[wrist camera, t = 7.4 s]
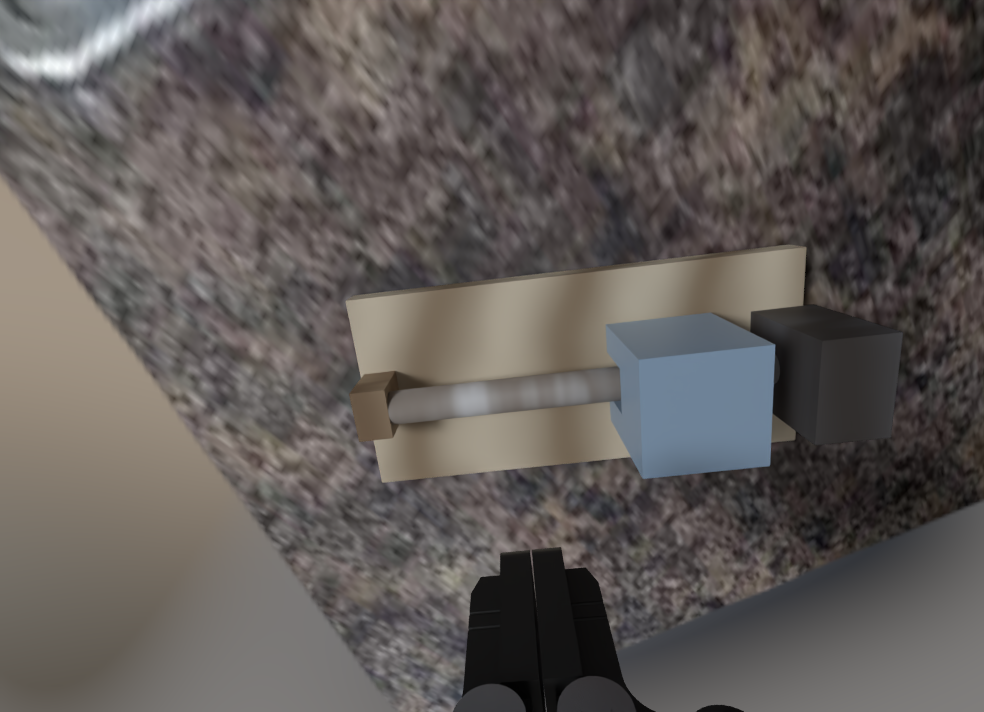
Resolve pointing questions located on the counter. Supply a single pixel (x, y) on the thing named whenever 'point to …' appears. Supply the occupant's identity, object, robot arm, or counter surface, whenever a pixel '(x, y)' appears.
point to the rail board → (594, 360)
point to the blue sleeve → (692, 394)
